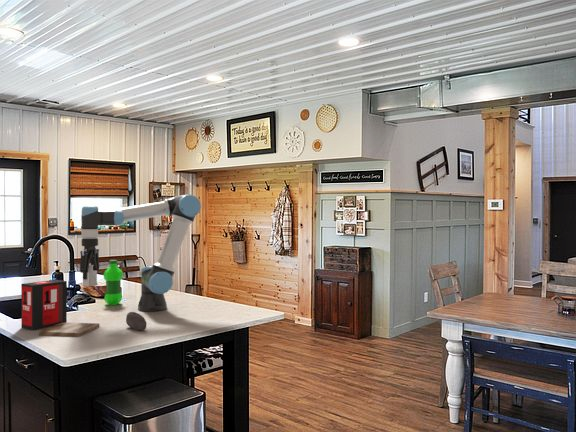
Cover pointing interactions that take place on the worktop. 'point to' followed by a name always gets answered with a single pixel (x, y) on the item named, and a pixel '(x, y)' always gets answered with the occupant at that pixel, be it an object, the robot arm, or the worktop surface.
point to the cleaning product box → (43, 304)
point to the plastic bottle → (113, 283)
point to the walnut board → (69, 329)
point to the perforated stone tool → (136, 321)
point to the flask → (91, 276)
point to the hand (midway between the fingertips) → (89, 284)
